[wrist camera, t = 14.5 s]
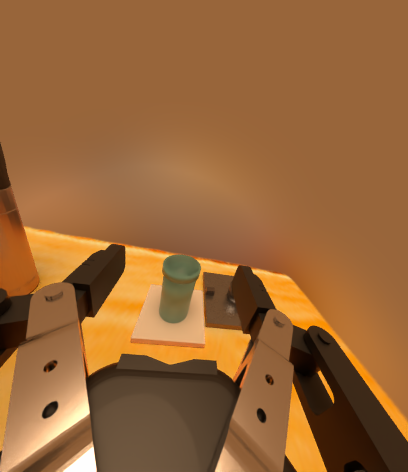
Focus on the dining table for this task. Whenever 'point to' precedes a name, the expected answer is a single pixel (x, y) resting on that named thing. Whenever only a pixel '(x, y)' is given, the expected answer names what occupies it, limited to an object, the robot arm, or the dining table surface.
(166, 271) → the green cup
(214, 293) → the base plate
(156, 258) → the dining table surface
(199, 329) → the tile
